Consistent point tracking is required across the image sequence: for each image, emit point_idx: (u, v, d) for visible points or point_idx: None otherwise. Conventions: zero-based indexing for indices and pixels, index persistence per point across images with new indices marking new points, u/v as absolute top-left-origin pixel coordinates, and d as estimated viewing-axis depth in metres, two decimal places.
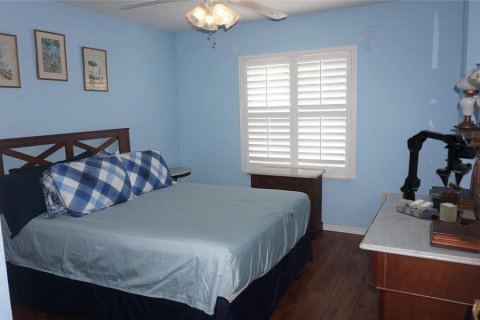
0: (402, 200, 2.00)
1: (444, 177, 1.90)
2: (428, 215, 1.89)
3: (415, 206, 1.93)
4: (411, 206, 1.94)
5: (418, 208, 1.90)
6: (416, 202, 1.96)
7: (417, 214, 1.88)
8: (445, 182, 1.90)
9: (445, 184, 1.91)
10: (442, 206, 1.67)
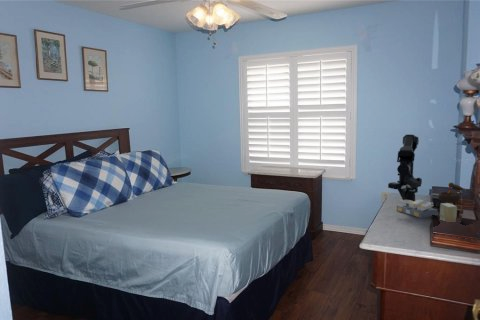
0: (402, 200, 2.00)
1: (401, 190, 1.98)
2: (428, 215, 1.89)
3: (415, 206, 1.93)
4: (411, 206, 1.94)
5: (418, 208, 1.90)
6: (416, 202, 1.96)
7: (417, 214, 1.88)
8: (402, 195, 1.98)
9: (402, 197, 1.99)
10: (442, 206, 1.67)
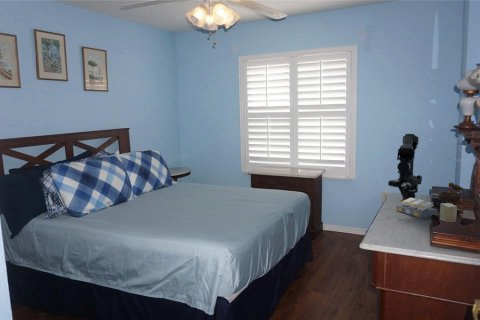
0: (402, 203, 2.00)
1: (402, 188, 1.98)
2: (428, 215, 1.89)
3: (415, 206, 1.93)
4: (411, 206, 1.94)
5: (418, 208, 1.90)
6: (416, 202, 1.96)
7: (417, 214, 1.88)
8: (403, 193, 1.98)
9: (403, 195, 1.98)
10: (442, 206, 1.67)
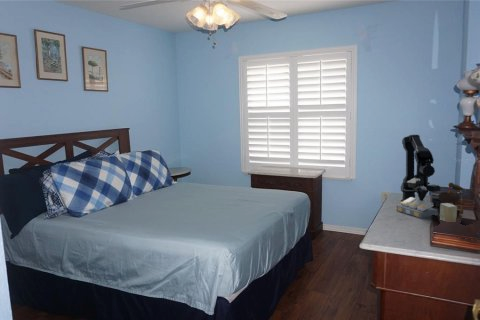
0: (402, 204, 2.00)
1: None
2: (428, 215, 1.89)
3: (415, 206, 1.93)
4: (411, 206, 1.94)
5: (418, 208, 1.90)
6: (416, 202, 1.96)
7: (417, 214, 1.88)
8: None
9: None
10: (442, 206, 1.67)
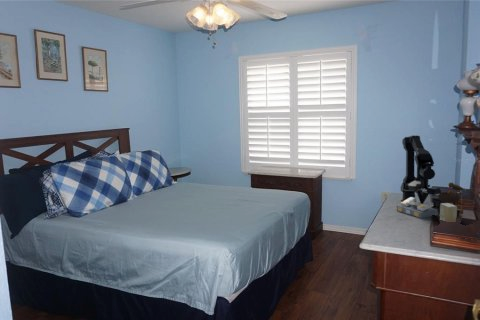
0: (402, 204, 2.00)
1: None
2: (428, 215, 1.89)
3: (415, 203, 1.93)
4: (411, 202, 1.94)
5: (418, 208, 1.90)
6: None
7: (417, 214, 1.88)
8: None
9: None
10: (442, 206, 1.67)
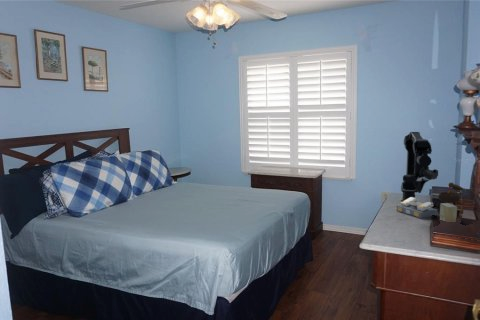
0: (402, 204, 2.00)
1: (417, 183, 1.91)
2: (428, 215, 1.89)
3: (415, 203, 1.93)
4: (411, 203, 1.94)
5: (418, 208, 1.90)
6: (417, 202, 1.96)
7: (417, 214, 1.88)
8: (418, 188, 1.91)
9: (418, 190, 1.91)
10: (442, 206, 1.67)
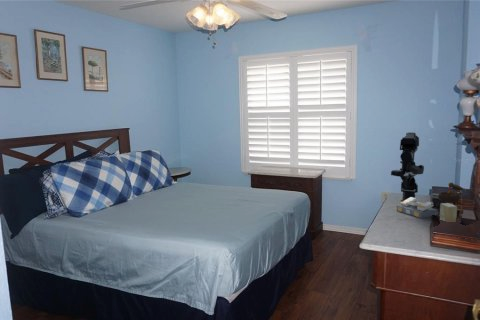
0: (402, 204, 2.00)
1: (404, 177, 2.03)
2: (428, 215, 1.89)
3: (415, 204, 1.93)
4: (411, 203, 1.94)
5: (418, 208, 1.90)
6: (416, 202, 1.96)
7: (417, 214, 1.88)
8: (405, 182, 2.03)
9: (405, 184, 2.03)
10: (442, 206, 1.67)
